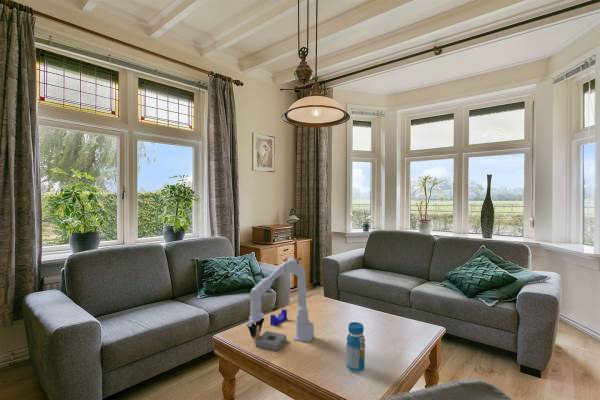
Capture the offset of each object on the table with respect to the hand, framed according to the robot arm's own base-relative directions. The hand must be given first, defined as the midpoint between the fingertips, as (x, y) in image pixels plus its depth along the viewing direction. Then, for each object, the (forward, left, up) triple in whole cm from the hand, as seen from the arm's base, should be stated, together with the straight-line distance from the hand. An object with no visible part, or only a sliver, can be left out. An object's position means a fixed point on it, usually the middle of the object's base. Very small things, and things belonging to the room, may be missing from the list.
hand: (255, 334), depth 171 cm
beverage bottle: (-57, +9, -2) cm, 58 cm away
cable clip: (-3, -23, -2) cm, 23 cm away
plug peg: (0, 0, -2) cm, 2 cm away
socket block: (-11, +3, -2) cm, 12 cm away
